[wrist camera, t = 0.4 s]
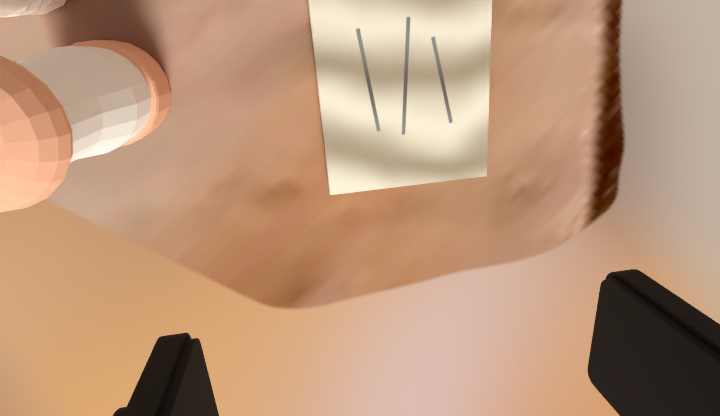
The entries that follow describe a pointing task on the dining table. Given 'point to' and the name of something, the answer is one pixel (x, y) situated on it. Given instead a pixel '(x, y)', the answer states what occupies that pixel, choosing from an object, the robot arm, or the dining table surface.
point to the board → (402, 90)
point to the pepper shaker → (72, 112)
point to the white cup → (28, 7)
